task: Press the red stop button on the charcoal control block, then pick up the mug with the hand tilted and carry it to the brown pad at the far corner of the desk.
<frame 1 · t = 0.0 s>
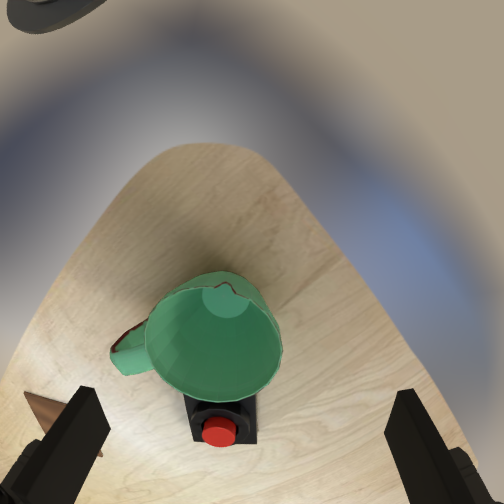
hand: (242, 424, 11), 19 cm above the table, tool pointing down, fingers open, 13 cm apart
stop button: (219, 432, 30), point 5 cm above the table, slide at 0.2 cm
control block: (223, 405, 34), on the table
mug: (204, 301, 31), on the table
brown pad: (62, 425, 38), on the table
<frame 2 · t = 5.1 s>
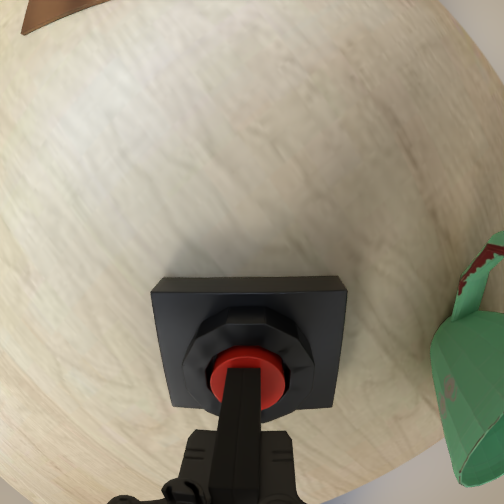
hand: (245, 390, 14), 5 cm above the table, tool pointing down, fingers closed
stop button: (248, 375, 15), point 4 cm above the table, slide at -0.7 cm, touching gripper
control block: (250, 339, 18), on the table
mug: (455, 310, 18), on the table
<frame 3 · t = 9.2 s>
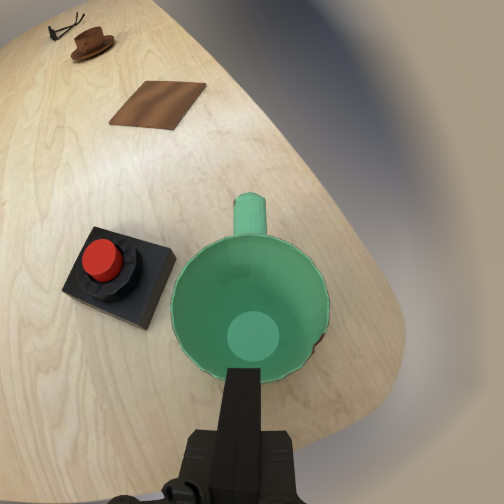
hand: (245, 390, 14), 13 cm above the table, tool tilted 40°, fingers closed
sunglasses: (68, 30, 75), on the table
stop button: (102, 260, 26), point 5 cm above the table, slide at 0.1 cm
control block: (120, 279, 30), on the table
mug: (252, 311, 29), on the table
brown pad: (157, 103, 44), on the table
cup and saucer: (94, 52, 58), on the table
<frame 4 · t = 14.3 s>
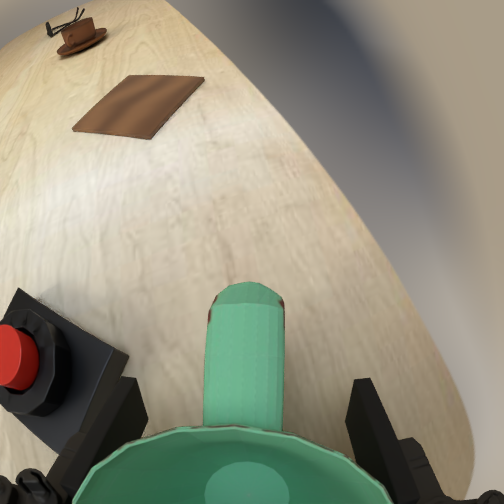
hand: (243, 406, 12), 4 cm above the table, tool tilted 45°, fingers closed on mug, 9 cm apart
sunglasses: (66, 26, 67), on the table
stop button: (10, 358, 13), point 5 cm above the table, slide at 0.1 cm
control block: (52, 373, 17), on the table
mug: (248, 458, 14), on the table, touching gripper
brown pad: (137, 102, 32), on the table
cup and saucer: (83, 47, 48), on the table
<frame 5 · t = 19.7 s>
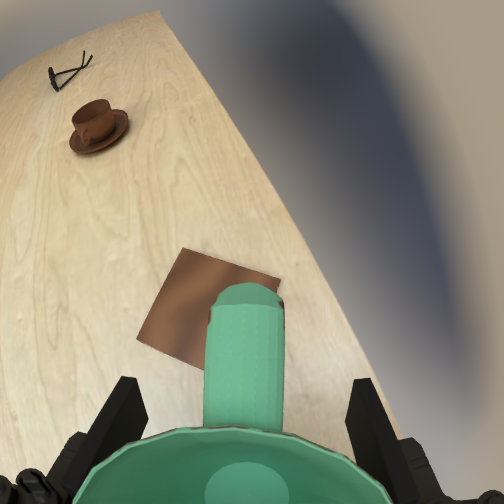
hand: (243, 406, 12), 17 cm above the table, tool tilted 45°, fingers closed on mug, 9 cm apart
sunglasses: (73, 75, 68), on the table
mug: (248, 459, 14), point 13 cm above the table, touching gripper
brown pad: (208, 311, 32), on the table
cup and saucer: (101, 137, 49), on the table
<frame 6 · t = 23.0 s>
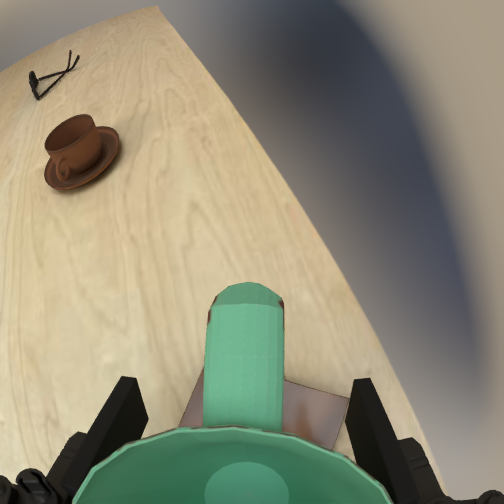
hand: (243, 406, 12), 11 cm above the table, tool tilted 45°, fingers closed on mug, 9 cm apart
sunglasses: (57, 79, 57), on the table
mug: (248, 459, 14), point 7 cm above the table, touching gripper
brown pad: (253, 445, 21), on the table
cup and saucer: (85, 164, 38), on the table
when the fingers open (4 cm above the table, at t = 25.4 s): mug stays where it is, resting on brown pad.
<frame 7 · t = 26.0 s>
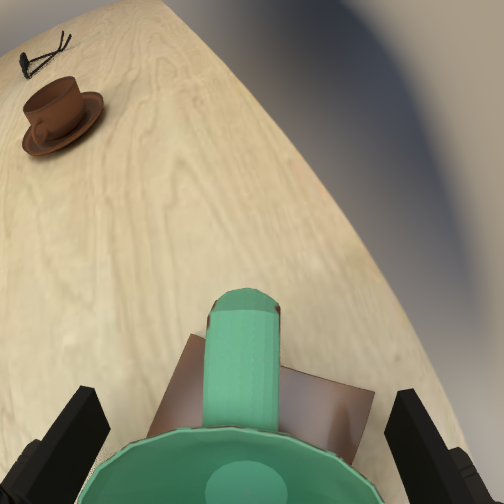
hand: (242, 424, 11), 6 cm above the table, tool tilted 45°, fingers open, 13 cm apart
sunglasses: (48, 60, 51), on the table
mug: (247, 458, 15), resting on brown pad
brown pad: (248, 456, 15), on the table
cup and saucer: (66, 131, 32), on the table
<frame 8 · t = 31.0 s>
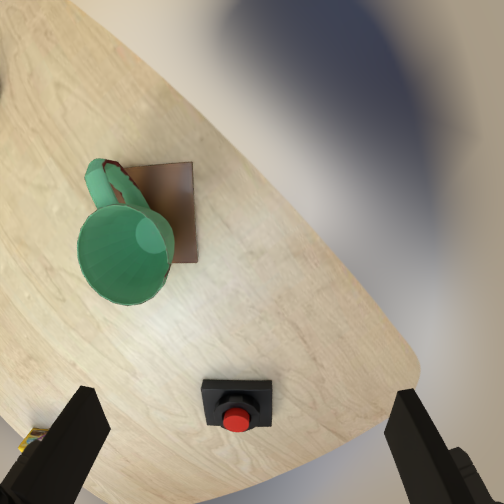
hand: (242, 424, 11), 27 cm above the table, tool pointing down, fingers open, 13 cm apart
stop button: (236, 420, 39), point 5 cm above the table, slide at 0.1 cm
control block: (238, 399, 43), on the table
mug: (146, 215, 36), resting on brown pad
candy box: (54, 431, 50), on the table
brown pad: (147, 215, 36), on the table
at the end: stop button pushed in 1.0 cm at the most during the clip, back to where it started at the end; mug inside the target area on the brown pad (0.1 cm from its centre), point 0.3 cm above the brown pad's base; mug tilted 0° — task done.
